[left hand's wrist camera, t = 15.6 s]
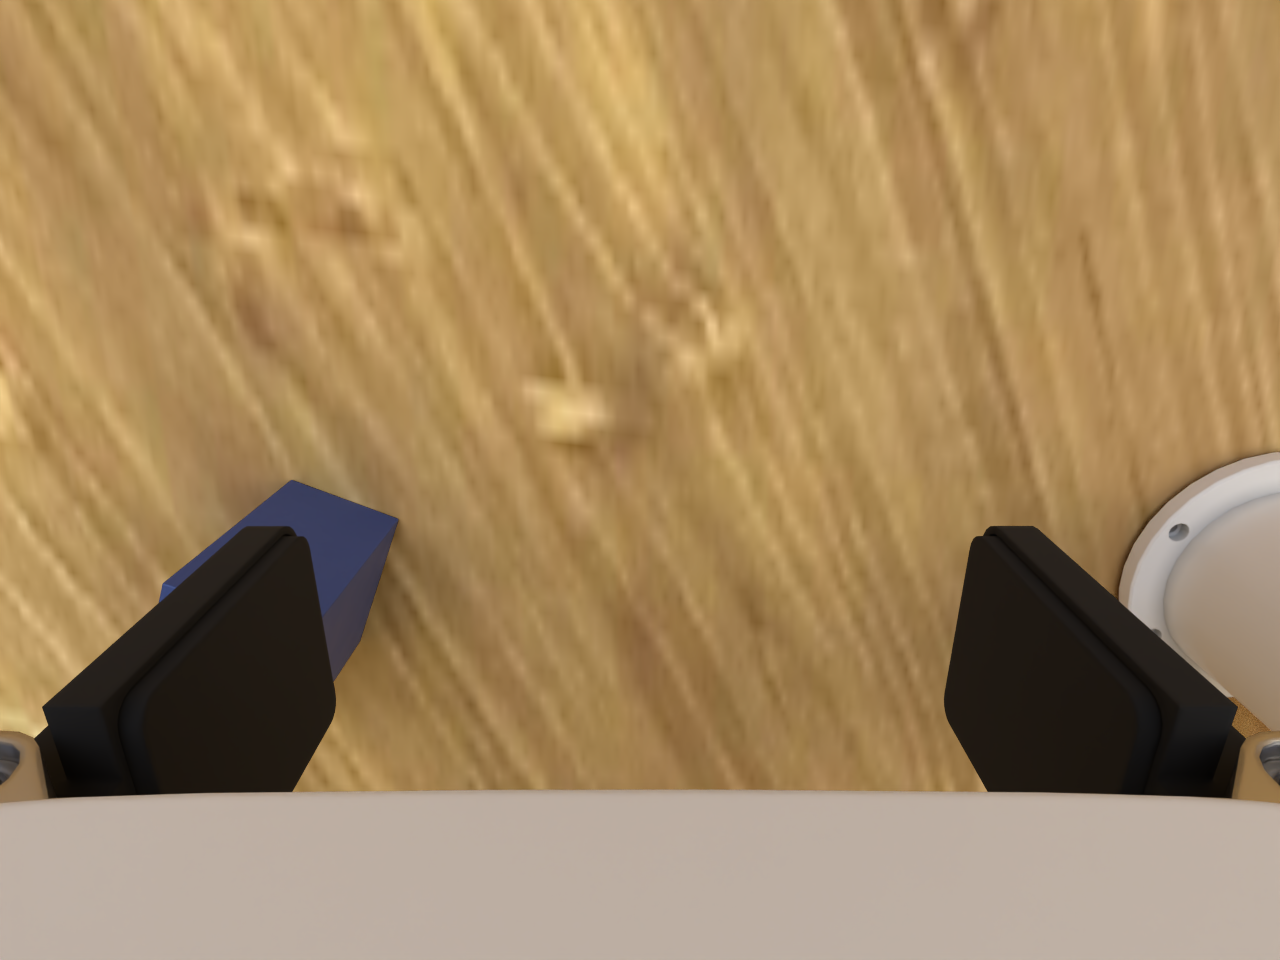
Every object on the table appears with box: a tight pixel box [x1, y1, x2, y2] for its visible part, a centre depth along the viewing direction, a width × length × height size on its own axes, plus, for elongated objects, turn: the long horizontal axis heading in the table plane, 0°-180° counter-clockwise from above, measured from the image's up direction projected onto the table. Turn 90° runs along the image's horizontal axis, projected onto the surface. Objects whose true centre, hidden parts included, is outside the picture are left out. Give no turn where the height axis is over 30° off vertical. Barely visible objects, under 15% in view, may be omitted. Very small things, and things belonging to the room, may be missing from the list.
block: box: [159, 480, 398, 682], centre depth 33 cm, size 5×8×10 cm
